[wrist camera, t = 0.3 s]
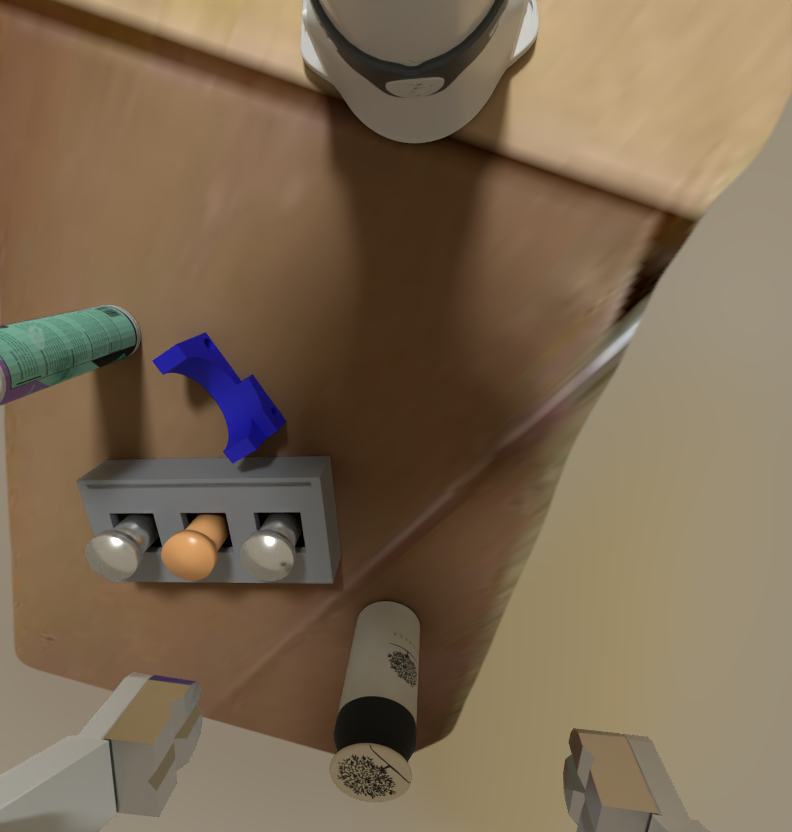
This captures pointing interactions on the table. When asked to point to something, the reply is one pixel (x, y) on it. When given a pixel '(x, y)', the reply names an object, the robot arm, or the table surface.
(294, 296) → the table surface
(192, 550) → the orange knob
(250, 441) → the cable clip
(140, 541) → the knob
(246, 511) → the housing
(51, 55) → the table surface
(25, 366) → the spray can
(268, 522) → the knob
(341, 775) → the travel mug
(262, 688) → the table surface
